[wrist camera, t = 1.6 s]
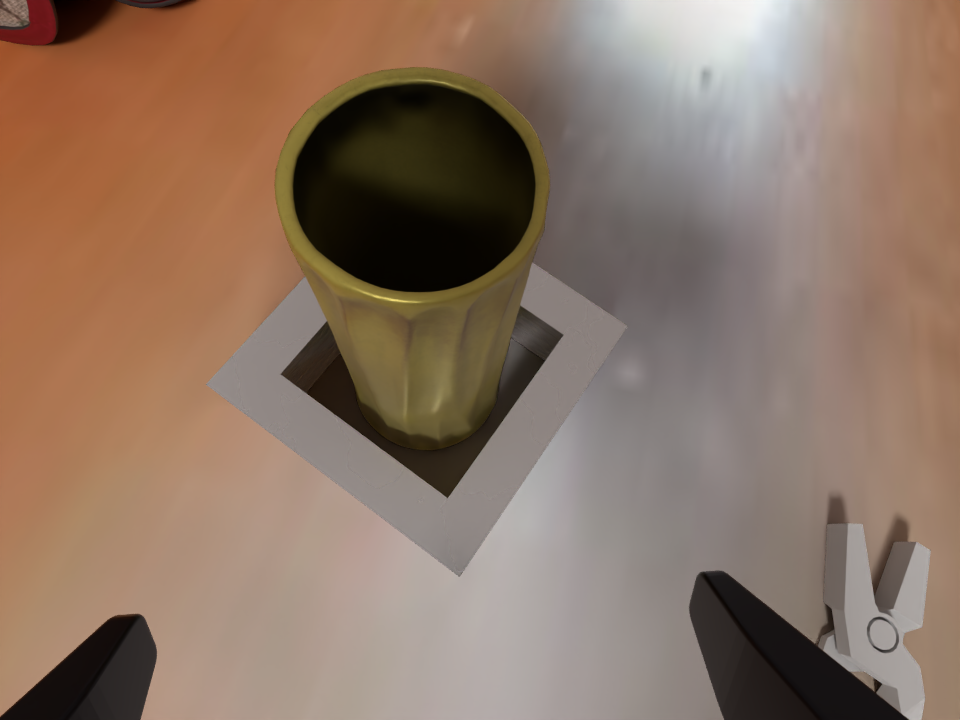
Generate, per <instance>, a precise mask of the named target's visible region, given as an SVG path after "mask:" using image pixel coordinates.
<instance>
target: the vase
mask: <svg viewBox="0 0 960 720" xmlns="http://www.w3.org/2000/svg"><path fill="white" fill-rule="evenodd" d="M549 192H550V176H549V169H548V165H547V162H546V158H545V154H544V151H543V148H542V145H541V142H540V140H539V138H538V136H537V133H536V132H535V130H534V129H533V127H532V125H531V124H530V123H529V122H528V121H527V119H526V118H525V117H524V116H523V115H522V114H521V113H520V112H519V111H518V110H517V109H516V108H514V107H513V106H512V105H511V104H510V103H509V102H508V101H507V100H506V99H505V98H504V97H502V96H501V95H500V94H499V93H497V92H496V91H495V90H493V89H492V88H490V87H489V86H487V85H485V84H483V83H481V82H479V81H477V80H475V79H472V78H470V77H467V76H464V75H461V74H458V73H454V72H450V71H446V70H441V69H434V68H425V67H410V68H399V69H390V70H381V71H377V72H373V73H370V74H366V75H363V76H361V77H358V78H355V79H353V80H351V81H349V82H347V83H345V84H343V85H341V86H339V87H337V88H336V89H334V90H333V91H331V92H330V93H328V94H327V95H325V96H324V97H322V98H321V99H320V100H319V101H318V102H316V103H315V104H314V105H313V106H311V107H310V108H309V109H308V110H307V111H306V112H305V113H304V114H303V116H302V117H301V118H300V119H299V121H298V122H297V123H296V124H295V126H294V127H293V128H292V130H291V131H290V132H289V134H288V137H287V139H286V141H285V144H284V146H283V148H282V151H281V154H280V157H279V161H278V164H277V168H276V174H275V198H276V204H277V208H278V213H279V216H280V220H281V223H282V226H283V230H284V232H285V235H286V238H287V240H288V243H289V245H290V248H291V250H292V252H293V254H294V255H295V257H296V259H297V261H298V263H299V265H300V267H301V269H302V271H303V273H304V275H305V277H306V279H307V281H308V283H309V285H310V287H311V289H312V291H313V293H314V295H315V297H316V299H317V301H318V303H319V305H320V307H321V310H322V312H323V314H324V316H325V318H326V320H327V322H328V324H329V326H330V328H331V330H332V333H333V335H334V338H335V340H336V343H337V345H338V348H339V351H340V353H341V355H342V357H343V359H344V361H345V363H346V366H347V368H348V371H349V373H350V375H351V378H352V380H353V382H354V385H355V393H356V398H357V402H358V405H359V408H360V410H361V412H362V414H363V415H364V417H365V419H366V420H367V421H368V423H369V424H370V425H371V426H372V427H373V428H374V429H375V430H376V431H377V432H378V433H379V434H381V435H382V436H383V437H385V438H386V439H388V440H389V441H391V442H393V443H395V444H398V445H400V446H403V447H407V448H411V449H417V450H436V449H441V448H446V447H449V446H452V445H454V444H456V443H459V442H461V441H463V440H464V439H466V438H468V437H469V436H471V435H472V434H473V433H474V432H476V431H477V430H478V429H479V428H480V427H481V426H482V425H483V423H484V422H485V421H486V419H487V418H488V416H489V415H490V413H491V411H492V409H493V408H494V406H495V403H496V400H497V395H498V387H499V380H500V376H501V371H502V367H503V364H504V361H505V358H506V354H507V350H508V347H509V343H510V339H511V335H512V332H513V329H514V325H515V322H516V318H517V314H518V311H519V307H520V304H521V300H522V297H523V294H524V290H525V287H526V284H527V280H528V277H529V272H530V268H531V265H532V262H533V259H534V255H535V252H536V249H537V247H538V244H539V241H540V239H541V237H542V235H543V232H544V228H545V217H546V209H547V203H548V197H549Z"/></svg>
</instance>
